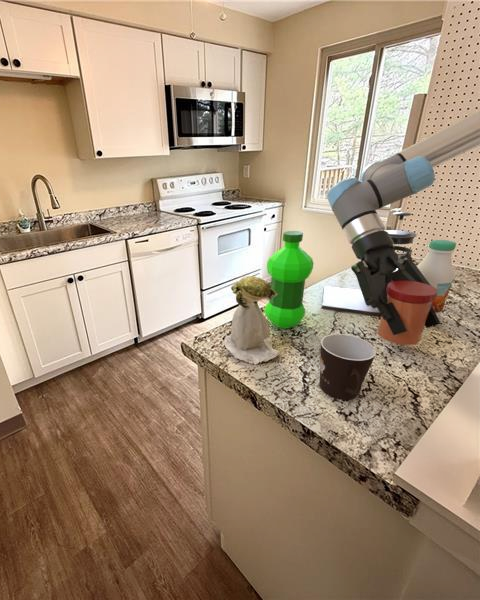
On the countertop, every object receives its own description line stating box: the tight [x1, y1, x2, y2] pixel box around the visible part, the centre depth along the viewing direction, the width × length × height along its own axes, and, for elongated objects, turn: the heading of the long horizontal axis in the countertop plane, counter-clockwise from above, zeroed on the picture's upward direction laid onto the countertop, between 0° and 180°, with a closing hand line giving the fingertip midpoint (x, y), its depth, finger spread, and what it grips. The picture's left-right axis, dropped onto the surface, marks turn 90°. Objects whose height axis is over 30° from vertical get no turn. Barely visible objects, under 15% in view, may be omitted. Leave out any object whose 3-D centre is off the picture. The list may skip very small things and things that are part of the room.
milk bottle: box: [416, 239, 457, 320], centre depth 77 cm, size 8×8×20 cm
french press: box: [385, 211, 418, 288], centre depth 94 cm, size 12×9×23 cm
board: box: [320, 285, 381, 317], centre depth 92 cm, size 15×15×1 cm
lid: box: [386, 281, 437, 303], centre depth 65 cm, size 8×8×2 cm
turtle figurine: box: [223, 275, 280, 366], centre depth 72 cm, size 12×13×18 cm
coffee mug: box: [319, 333, 377, 401], centre depth 58 cm, size 12×9×10 cm
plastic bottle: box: [264, 230, 314, 329], centre depth 79 cm, size 10×10×25 cm
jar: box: [377, 295, 432, 346], centre depth 68 cm, size 8×8×12 cm
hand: (417, 329), depth 65 cm, fingers closed on jar, 8 cm apart
